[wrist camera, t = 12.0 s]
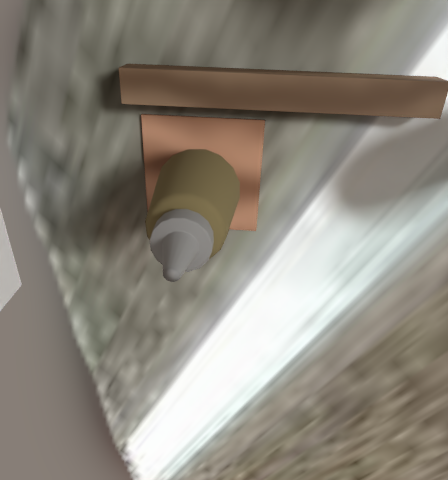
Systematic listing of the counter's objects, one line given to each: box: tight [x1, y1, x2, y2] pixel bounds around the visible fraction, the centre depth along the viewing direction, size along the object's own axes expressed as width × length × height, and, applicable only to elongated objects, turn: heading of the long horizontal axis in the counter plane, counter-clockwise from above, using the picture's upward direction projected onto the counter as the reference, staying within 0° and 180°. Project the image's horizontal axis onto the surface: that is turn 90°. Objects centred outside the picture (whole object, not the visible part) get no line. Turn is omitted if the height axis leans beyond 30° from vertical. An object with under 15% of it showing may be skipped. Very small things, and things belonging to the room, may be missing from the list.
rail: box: [119, 64, 448, 231], centre depth 40 cm, size 16×28×3 cm, turn 88°
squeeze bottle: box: [145, 149, 240, 282], centre depth 34 cm, size 8×8×18 cm
